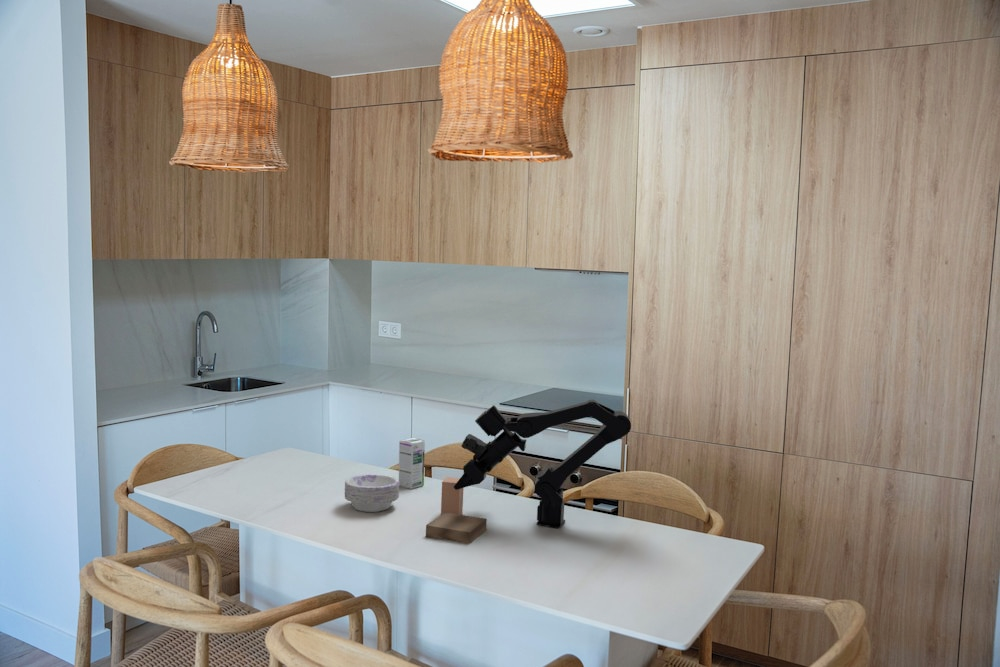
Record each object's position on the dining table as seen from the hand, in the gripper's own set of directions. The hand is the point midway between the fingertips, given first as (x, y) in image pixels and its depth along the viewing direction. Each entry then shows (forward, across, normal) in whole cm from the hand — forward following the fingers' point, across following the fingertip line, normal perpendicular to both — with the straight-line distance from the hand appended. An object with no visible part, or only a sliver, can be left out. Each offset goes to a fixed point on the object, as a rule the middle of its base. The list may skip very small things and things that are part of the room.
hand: (458, 484), depth 225 cm
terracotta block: (+8, 0, +5) cm, 9 cm away
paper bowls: (+24, 0, -11) cm, 27 cm away
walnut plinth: (+4, +14, +9) cm, 17 cm away
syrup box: (+21, -25, -8) cm, 33 cm away
